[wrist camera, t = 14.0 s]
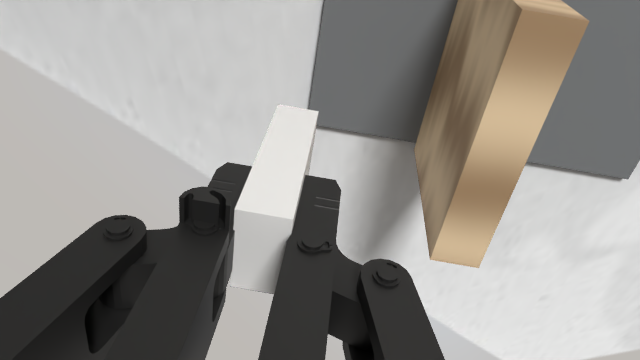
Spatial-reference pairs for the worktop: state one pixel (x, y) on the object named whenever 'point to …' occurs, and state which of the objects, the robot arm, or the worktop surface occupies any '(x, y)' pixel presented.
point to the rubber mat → (423, 61)
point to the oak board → (488, 115)
